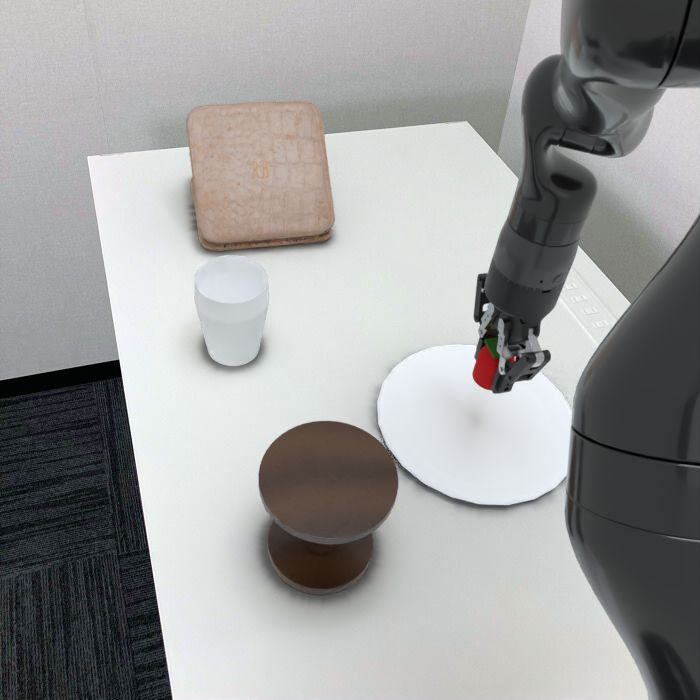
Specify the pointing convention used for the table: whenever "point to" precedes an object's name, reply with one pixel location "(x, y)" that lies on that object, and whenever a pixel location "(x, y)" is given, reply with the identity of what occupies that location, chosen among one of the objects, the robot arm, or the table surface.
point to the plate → (474, 429)
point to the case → (259, 174)
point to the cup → (232, 307)
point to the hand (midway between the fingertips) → (491, 374)
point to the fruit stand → (325, 503)
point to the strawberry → (487, 363)
